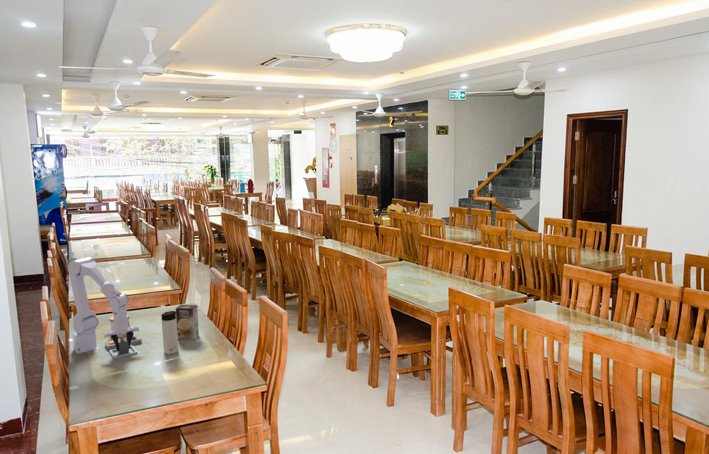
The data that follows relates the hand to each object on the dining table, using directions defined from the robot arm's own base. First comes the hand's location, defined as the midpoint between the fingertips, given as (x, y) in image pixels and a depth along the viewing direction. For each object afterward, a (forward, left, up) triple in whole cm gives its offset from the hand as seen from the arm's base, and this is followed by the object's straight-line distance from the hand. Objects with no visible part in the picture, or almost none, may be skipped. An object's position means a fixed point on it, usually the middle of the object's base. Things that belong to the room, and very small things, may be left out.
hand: (123, 348), depth 233 cm
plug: (0, 0, -2) cm, 2 cm away
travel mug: (+18, -13, -3) cm, 22 cm away
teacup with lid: (+5, +31, -3) cm, 32 cm away
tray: (0, 0, -3) cm, 3 cm away
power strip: (+3, +11, -3) cm, 12 cm away
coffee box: (+31, +3, -3) cm, 31 cm away
